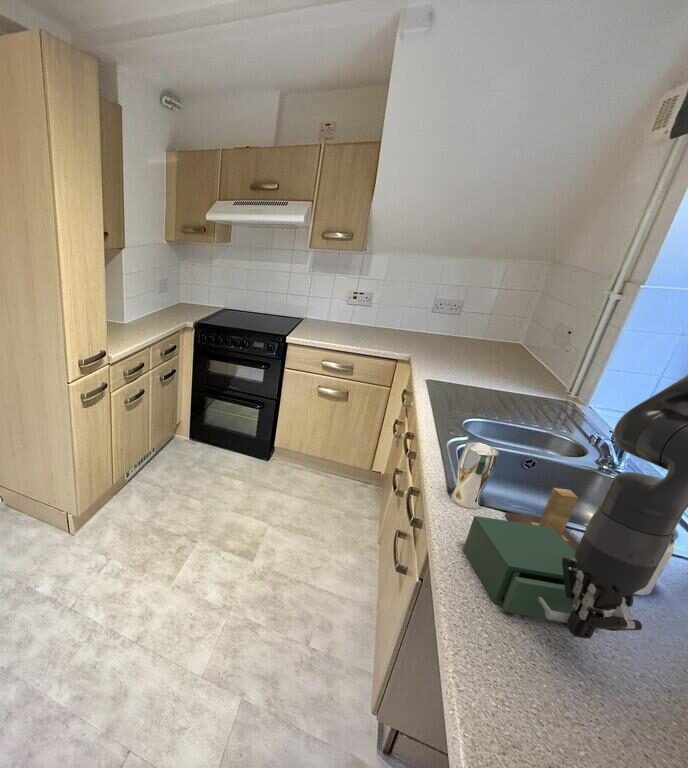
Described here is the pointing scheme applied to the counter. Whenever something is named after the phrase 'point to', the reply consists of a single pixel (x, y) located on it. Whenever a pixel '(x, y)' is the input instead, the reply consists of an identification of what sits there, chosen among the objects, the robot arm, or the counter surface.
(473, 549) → the cabinet
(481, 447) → the beer glass
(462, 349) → the counter surface
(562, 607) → the drawer
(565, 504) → the wooden block
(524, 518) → the thin wooden plank
